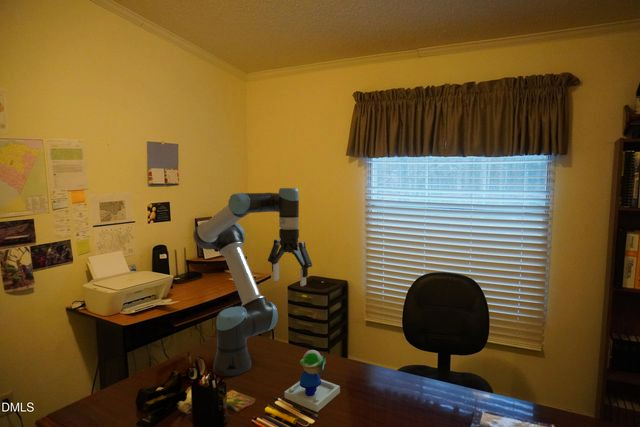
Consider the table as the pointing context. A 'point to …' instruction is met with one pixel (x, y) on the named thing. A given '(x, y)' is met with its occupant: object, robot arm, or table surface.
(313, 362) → the toy
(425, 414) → the table surface
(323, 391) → the base plate
